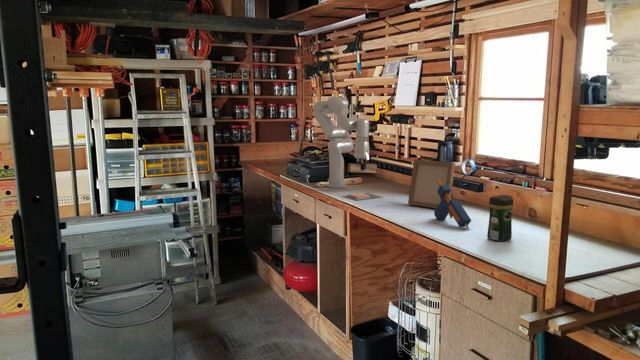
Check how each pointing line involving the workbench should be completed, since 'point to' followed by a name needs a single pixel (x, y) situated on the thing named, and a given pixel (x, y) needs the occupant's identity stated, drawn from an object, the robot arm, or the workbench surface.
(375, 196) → the mat
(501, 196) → the coffee jar
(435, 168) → the photo frame
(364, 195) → the tile
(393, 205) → the workbench surface
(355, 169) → the batten
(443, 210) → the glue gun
